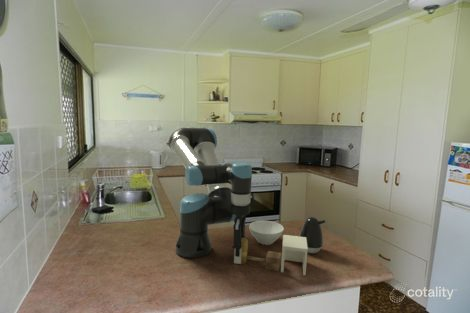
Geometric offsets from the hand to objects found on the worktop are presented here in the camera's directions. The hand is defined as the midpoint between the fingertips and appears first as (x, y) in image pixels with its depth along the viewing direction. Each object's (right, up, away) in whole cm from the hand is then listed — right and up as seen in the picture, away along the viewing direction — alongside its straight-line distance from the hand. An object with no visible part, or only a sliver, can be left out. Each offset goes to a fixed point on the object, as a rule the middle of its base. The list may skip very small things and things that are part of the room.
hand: (238, 260), depth 112 cm
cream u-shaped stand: (+21, -1, -3) cm, 21 cm away
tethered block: (+7, -1, -2) cm, 8 cm away
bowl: (+13, +2, +19) cm, 23 cm away
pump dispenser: (+31, 0, +11) cm, 33 cm away
